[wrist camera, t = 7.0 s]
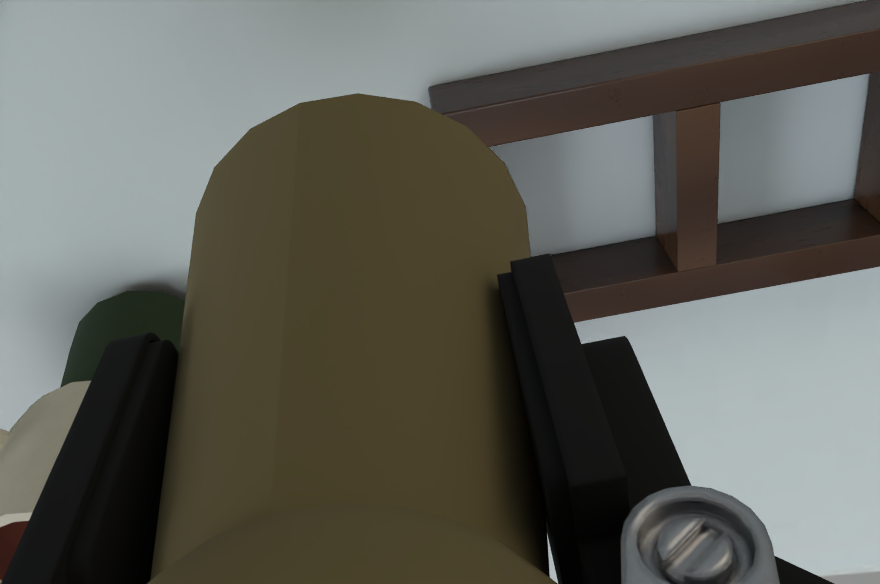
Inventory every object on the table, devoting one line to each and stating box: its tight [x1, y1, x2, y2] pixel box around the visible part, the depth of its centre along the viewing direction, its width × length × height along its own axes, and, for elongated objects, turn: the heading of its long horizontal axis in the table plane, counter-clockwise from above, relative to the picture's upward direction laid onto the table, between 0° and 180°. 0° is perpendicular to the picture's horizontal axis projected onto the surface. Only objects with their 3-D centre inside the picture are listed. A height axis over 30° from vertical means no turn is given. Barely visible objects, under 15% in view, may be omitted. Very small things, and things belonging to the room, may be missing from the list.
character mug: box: [0, 291, 185, 584], centre depth 31 cm, size 11×7×13 cm, turn 57°
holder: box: [428, 0, 880, 322], centre depth 32 cm, size 10×27×3 cm, turn 100°
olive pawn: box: [147, 94, 557, 584], centre depth 10 cm, size 6×6×11 cm
